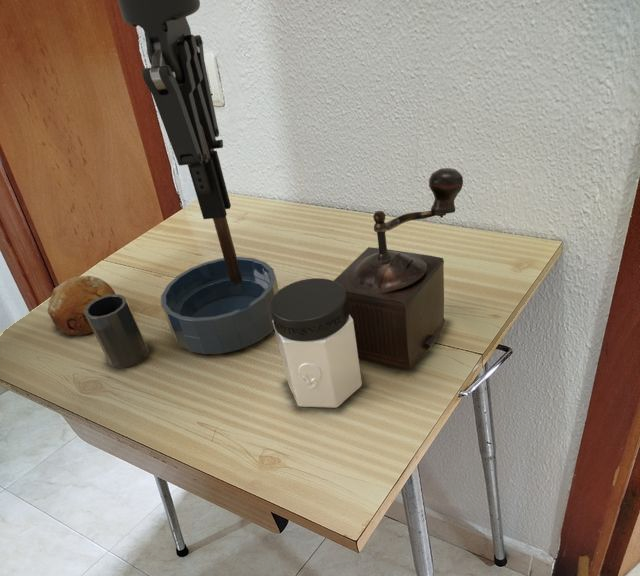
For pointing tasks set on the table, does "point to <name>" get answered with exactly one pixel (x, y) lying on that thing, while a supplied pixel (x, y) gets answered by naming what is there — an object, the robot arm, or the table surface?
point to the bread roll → (76, 303)
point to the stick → (226, 242)
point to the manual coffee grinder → (400, 288)
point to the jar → (316, 342)
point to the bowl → (220, 306)
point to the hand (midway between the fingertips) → (217, 212)
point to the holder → (116, 330)
